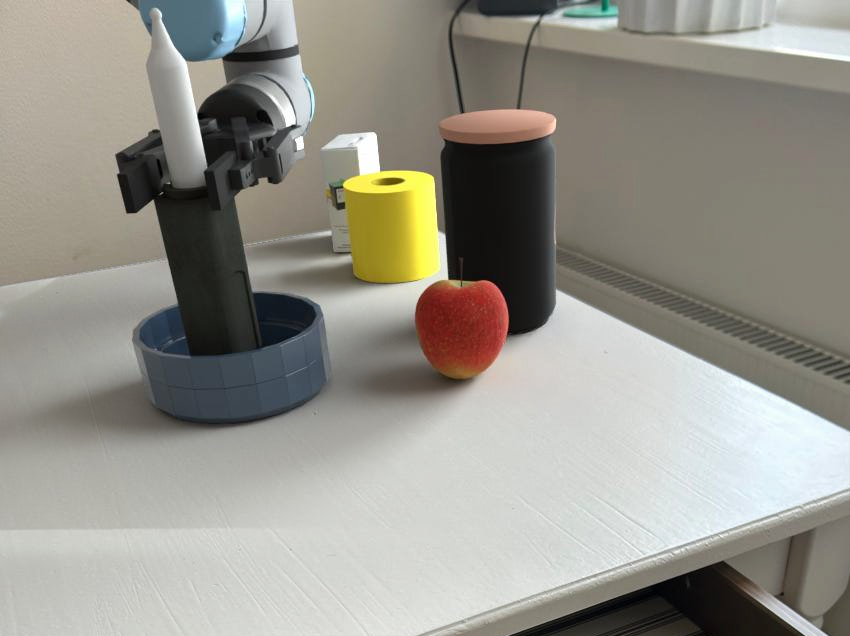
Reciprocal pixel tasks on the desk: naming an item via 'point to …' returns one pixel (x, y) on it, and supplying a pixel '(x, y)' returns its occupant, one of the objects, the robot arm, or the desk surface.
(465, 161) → the coffee jar
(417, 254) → the yellow toilet paper roll
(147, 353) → the bowl
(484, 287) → the apple
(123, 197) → the robot arm
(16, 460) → the desk surface
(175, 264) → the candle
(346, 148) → the ink box
